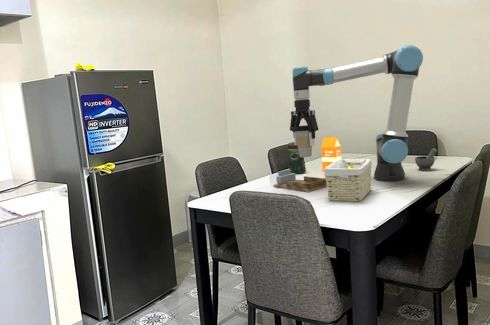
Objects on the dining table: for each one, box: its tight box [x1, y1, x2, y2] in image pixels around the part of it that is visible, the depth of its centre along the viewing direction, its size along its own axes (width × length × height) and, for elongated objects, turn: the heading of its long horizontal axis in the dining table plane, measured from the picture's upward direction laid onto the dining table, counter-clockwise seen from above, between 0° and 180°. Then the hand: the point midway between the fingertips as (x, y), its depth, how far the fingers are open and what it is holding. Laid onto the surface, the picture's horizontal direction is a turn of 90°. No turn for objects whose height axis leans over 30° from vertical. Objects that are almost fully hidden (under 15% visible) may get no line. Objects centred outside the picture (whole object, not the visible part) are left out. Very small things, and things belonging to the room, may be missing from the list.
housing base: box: [273, 176, 327, 193], centre depth 216 cm, size 24×16×4 cm, turn 40°
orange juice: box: [320, 136, 342, 173], centre depth 252 cm, size 8×9×20 cm
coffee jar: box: [287, 141, 307, 175], centre depth 253 cm, size 10×8×19 cm
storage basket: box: [324, 158, 373, 202], centre depth 189 cm, size 24×16×15 cm
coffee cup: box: [294, 124, 313, 158], centre depth 210 cm, size 9×9×15 cm
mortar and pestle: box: [414, 147, 438, 172], centre depth 231 cm, size 11×9×12 cm
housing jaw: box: [276, 168, 297, 184], centre depth 223 cm, size 3×11×6 cm, turn 130°
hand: (304, 145), depth 210 cm, fingers closed on coffee cup, 9 cm apart
